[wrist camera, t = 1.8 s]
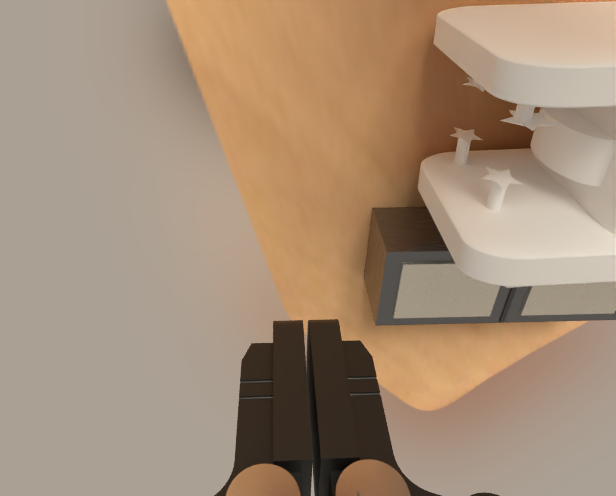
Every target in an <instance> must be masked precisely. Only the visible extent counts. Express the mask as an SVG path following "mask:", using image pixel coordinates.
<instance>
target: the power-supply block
mask: <svg viewBox="0 0 616 496" xmlns="http://www.w3.org/2000/svg"><path fill="white" fill-rule="evenodd" d="M364 280H365V284H366V288H367V292H368V296H369V300H370V304H371V309H372V313H373V317H374V321H375V325H416V324H459V323H502V322H544V321H586V320H616V281H615V282H597V283H587V284H583V283H578V284H570V286H567V285H566V284H560V285H541V286H523V287H513V288H506V287H505V286H498V285H493V284H488V283H485V282H481V281H478V280H476V279H473V278H471V277H469V276H467V275H466V274H464V273H463V272H462V271H461V270H460V269H459V268H458V267H457V266H456V264H455V262H454V260H453V258H452V256H451V254H450V252H449V250H448V248H447V246H446V244H445V242H444V240H443V238H442V236H441V234H440V232H439V230H438V228H437V226H436V224H435V222H434V220H433V218H432V216H431V214H430V212H429V210H428V208H427V207H422V208H372V215H371V224H370V232H369V240H368V248H367V256H366V264H365V273H364Z"/></svg>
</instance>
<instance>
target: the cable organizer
mask: <svg viewBox="0 0 616 496" xmlns="http://www.w3.org/2000/svg"><path fill="white" fill-rule="evenodd" d="M433 43H434V45H435V46H436V47H437V48H438V49H440V50H441V51H442V52H443V53H444V54H445V55H446V56H448V57H449V58H450V59H451V60H452V61H453V62H454V63H455V64H457V65H458V66H459V67H460V68H461V69H462V70H463V71H465V72H466V73H467V74H468V75H469V76H470V77H471V78H469V77H467V79H468V80H469V81H470V82H468V83H465V84H462V85H469V86H475V87H477V88H478V89H479V90H481V91H482V92H483V91H484V90H486V91H487V92H488V93H490V94H491V95H493V96H494V97H497V98H499V99H501V100H505V101H508V102H511V103H516V104H517V107H516V111H513V110H509V111H510V113H511V114H512V115H513V117H510V118H506V119H503V120H499V121H504V122H508V123H513V124H517V125H521V126H526V127H527V128H529V129H530V130H532V131H533V130H534V133H533V137H532V140H531V148H527V149H504V150H481V151H469V148H470V143H471V140H483V139H481V138H479V137H477V136H475V135H474V129H472V130H465V131H464V130H462V129H459V128H456V127H454V128H455V130H456V132H457V133H455V134H452V135H450V136H453V137H458V142H457V148H456V152H445V153H439V154H435V155H432V156H429V157H427V158H426V159H424V160H423V161H422V163H421V166H420V174H419V182H418V190H419V192H420V194H421V196H422V198H423V200H424V202H425V204H426V206H427V208H428V210H429V212H430V214H431V216H432V218H433V220H434V222H435V224H436V226H437V228H438V230H439V232H440V234H441V236H442V238H443V240H444V242H445V244H446V246H447V248H448V250H449V252H450V254H451V256H452V258H453V260H454V262H455V264H456V266H457V267H458V268H459V269H460V270H461V271H462V272H463V273H464V274H466V275H467V276H469V277H471V278H473V279H476V280H478V281H481V282H485V283H488V284H493V285H498V286H505V287H506V288H513V287H523V286H541V285H560V284H566V285H567V286H570V284H578V283H583V284H587V283H597V282H615V281H616V1H605V2H574V3H543V4H512V5H481V6H464V7H456V8H451V9H446V10H443V11H441V12H439V13H438V14H437V19H436V27H435V34H434V42H433ZM535 107H540V111H539V113H534V109H535Z"/></svg>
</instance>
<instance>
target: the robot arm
mask: <svg viewBox="0 0 616 496" xmlns="http://www.w3.org/2000/svg"><path fill="white" fill-rule="evenodd" d="M241 365H242V366H241V378H240V393H239V407H238V421H237V436H236V452H235V463H234V468H233V471H232V474H231V476H230V478H229V480H228V481H227V483H226V485H225V486H224V487H223V488H222V489H221V490H220V491H219V492H218V493H217V494H216V495H215V496H311V477H312V463H313V477H314V491H315V496H441V495H437V494H434V493H431V492H428V491H426V490H423V489H421V488H420V487H418V486H417V485H415V484H414V483H412V482H411V481H410V480H409V479H408V478H407V477H406V476H405V475H404V474H403V473H402V471H401V470H400V468H399V467H398V465H397V463H396V460H395V458H394V454H393V450H392V445H391V441H390V436H389V432H388V427H387V422H386V418H385V413H384V409H383V404H382V399H381V396H380V391H379V386H378V381H377V379H376V372H375V367H374V363H373V358H372V356H371V355H370V353H369V352H368V350H367V349H366V348H365V346H364V345H363V344H362V342H361V341H342V339H341V333H340V326H339V321H338V319H335V320H308V336H307V373H306V360H305V345H304V330H303V320H297V321H273V343H254V344H251V346H250V347H249V349H248V351H247V352H246V354H245V356H244V358H243V359H242V364H241ZM471 496H499V495H495V494H492V493H477V494H474V495H471Z"/></svg>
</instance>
